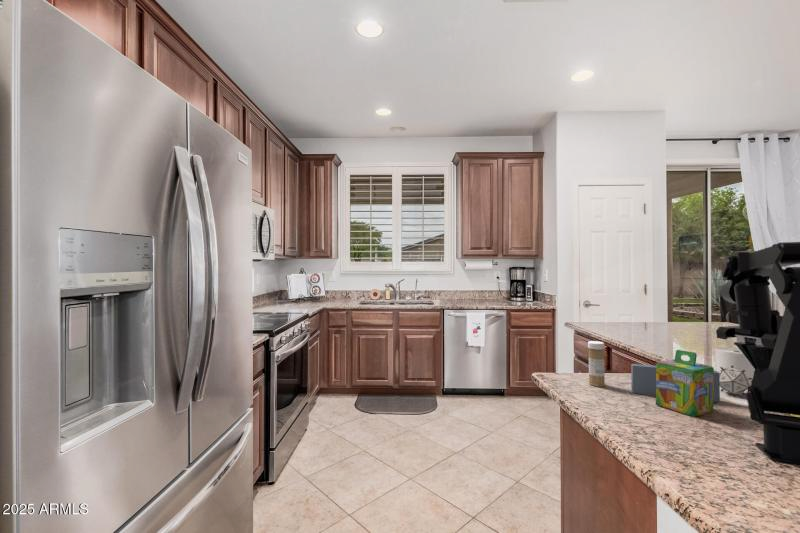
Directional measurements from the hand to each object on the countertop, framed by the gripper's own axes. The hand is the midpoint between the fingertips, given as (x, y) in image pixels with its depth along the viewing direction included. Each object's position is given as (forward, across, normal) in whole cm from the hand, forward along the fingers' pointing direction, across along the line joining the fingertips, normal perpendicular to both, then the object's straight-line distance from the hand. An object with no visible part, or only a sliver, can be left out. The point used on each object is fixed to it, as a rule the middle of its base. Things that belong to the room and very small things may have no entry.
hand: (763, 375), depth 82 cm
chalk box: (+11, +12, +11) cm, 19 cm away
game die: (+12, +26, -9) cm, 30 cm away
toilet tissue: (+12, +39, -19) cm, 45 cm away
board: (+10, +21, +9) cm, 25 cm away
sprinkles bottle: (+9, +29, +26) cm, 40 cm away
